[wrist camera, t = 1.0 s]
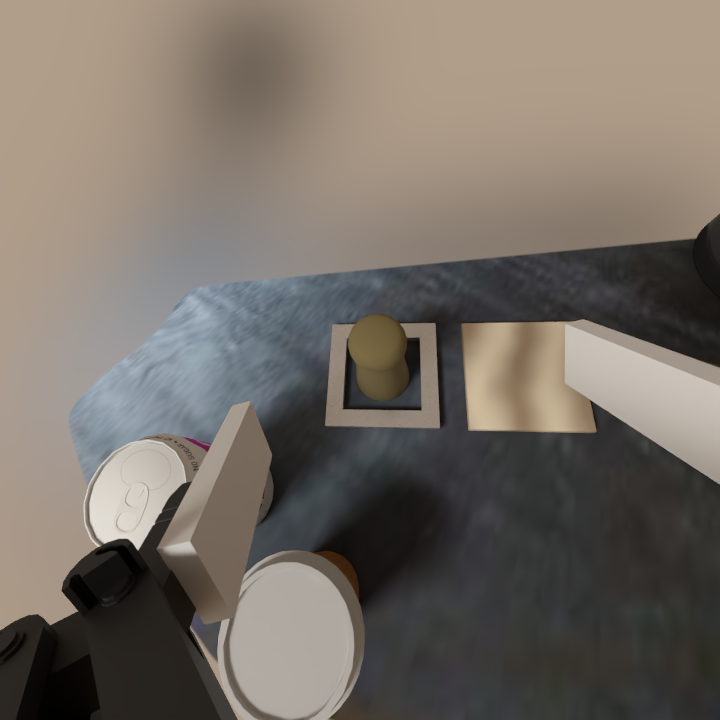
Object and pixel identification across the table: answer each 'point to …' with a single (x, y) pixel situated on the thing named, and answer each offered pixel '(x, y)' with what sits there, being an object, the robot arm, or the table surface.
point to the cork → (379, 356)
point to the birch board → (521, 379)
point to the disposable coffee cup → (293, 638)
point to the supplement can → (144, 486)
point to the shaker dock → (384, 418)
